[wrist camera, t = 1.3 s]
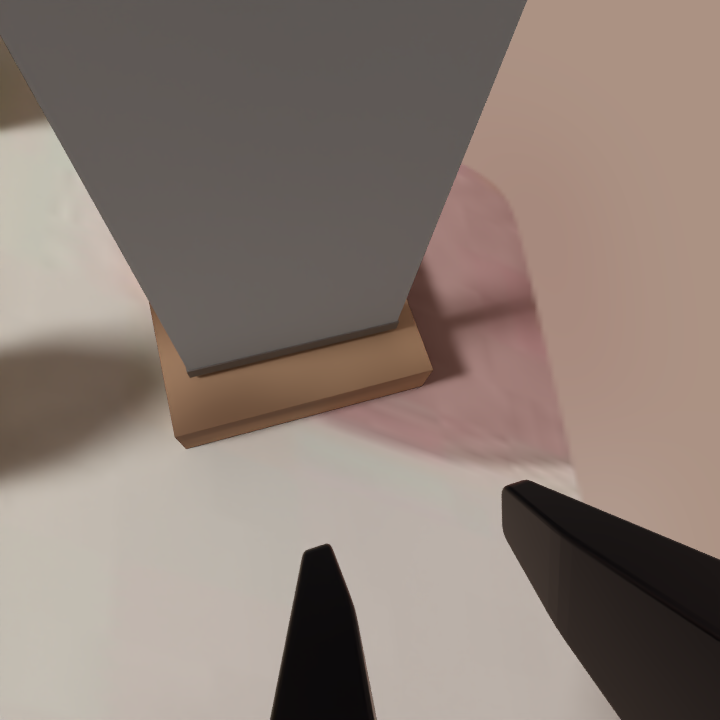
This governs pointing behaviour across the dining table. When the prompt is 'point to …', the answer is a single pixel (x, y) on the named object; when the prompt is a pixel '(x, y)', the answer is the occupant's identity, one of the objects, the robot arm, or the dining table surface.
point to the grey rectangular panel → (264, 151)
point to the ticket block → (290, 382)
